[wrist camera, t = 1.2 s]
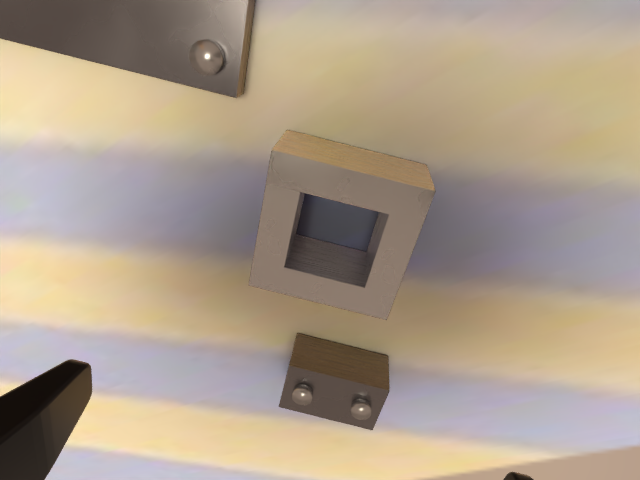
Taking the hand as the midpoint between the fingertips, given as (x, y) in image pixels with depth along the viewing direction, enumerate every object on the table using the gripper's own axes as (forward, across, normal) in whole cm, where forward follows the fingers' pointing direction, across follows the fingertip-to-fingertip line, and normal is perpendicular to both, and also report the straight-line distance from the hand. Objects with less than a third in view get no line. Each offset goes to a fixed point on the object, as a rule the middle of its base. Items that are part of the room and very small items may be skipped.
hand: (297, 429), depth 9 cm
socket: (+12, 0, 0) cm, 12 cm away
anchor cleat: (+12, -2, +9) cm, 15 cm away
